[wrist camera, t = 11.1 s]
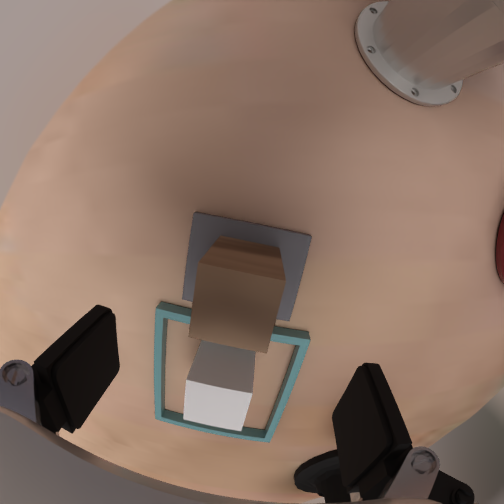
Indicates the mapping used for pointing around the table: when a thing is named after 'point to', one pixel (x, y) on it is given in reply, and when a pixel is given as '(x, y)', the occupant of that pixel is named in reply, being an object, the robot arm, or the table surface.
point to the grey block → (219, 386)
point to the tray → (278, 335)
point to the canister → (500, 251)
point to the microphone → (323, 478)
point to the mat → (288, 241)
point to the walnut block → (237, 294)
